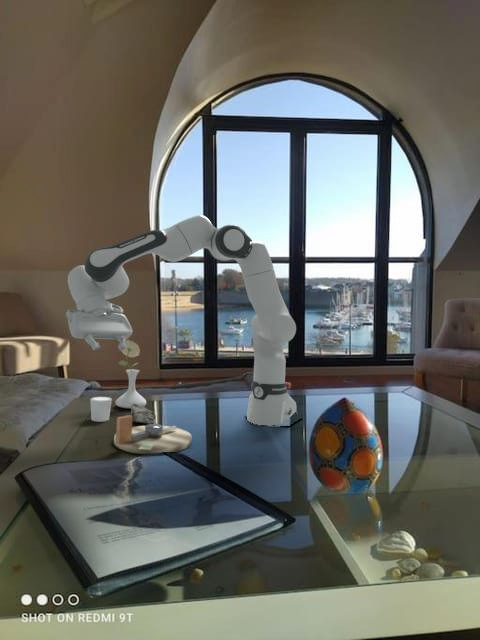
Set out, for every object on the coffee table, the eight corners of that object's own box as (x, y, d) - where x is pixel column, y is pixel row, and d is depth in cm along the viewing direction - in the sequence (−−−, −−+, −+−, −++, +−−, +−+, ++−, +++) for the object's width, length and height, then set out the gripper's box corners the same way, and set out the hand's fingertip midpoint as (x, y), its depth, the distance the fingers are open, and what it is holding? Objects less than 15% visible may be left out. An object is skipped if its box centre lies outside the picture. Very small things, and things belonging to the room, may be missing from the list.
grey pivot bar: (169, 427, 138) (170, 404, 138) (181, 431, 135) (182, 408, 135) (111, 441, 122) (113, 416, 122) (123, 446, 119) (124, 420, 118)
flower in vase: (152, 407, 170) (156, 341, 169) (130, 412, 161) (133, 342, 159) (128, 401, 177) (131, 338, 176) (105, 406, 167) (108, 339, 166)
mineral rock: (157, 426, 145) (157, 413, 145) (131, 427, 143) (132, 413, 143) (153, 415, 160) (153, 402, 160) (129, 415, 157) (130, 402, 157)
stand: (157, 426, 146) (157, 421, 146) (207, 442, 132) (207, 437, 132) (97, 440, 128) (98, 434, 128) (148, 460, 115) (148, 454, 115)
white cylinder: (91, 422, 145) (92, 401, 145) (87, 417, 151) (88, 396, 151) (112, 421, 148) (113, 400, 148) (108, 416, 154) (109, 395, 154)
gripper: (69, 302, 128) (85, 342, 123) (126, 308, 145) (142, 343, 140) (58, 315, 131) (73, 355, 126) (115, 319, 148) (130, 354, 142)
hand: (110, 349), depth 133 cm, fingers open, 8 cm apart
